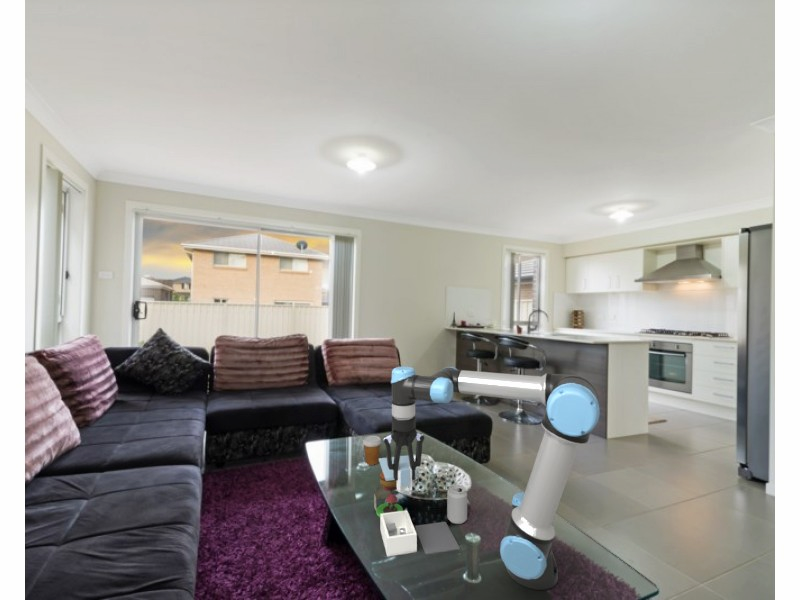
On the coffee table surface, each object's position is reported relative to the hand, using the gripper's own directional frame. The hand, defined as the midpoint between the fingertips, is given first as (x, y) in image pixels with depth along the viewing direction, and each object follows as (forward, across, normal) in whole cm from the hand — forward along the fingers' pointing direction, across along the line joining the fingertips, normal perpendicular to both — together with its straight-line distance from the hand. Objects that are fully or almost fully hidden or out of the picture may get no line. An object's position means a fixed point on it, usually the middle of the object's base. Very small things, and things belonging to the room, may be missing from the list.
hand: (404, 488), depth 121 cm
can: (+24, -24, -17) cm, 38 cm away
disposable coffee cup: (+24, +1, -71) cm, 75 cm away
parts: (+24, 0, -10) cm, 26 cm away
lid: (-2, 0, -8) cm, 8 cm away
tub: (+24, 0, -10) cm, 26 cm away
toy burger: (+24, 0, -28) cm, 37 cm away
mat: (+24, -13, -9) cm, 28 cm away
